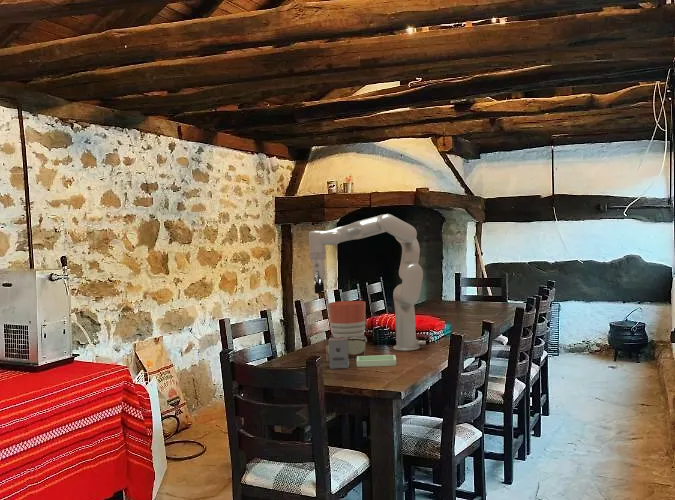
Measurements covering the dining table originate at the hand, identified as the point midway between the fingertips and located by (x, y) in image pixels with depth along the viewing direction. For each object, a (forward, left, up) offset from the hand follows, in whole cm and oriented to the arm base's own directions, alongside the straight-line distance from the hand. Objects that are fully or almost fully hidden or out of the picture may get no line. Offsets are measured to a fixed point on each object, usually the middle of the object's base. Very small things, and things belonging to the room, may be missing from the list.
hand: (319, 292), depth 291 cm
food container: (-16, +10, -30) cm, 36 cm away
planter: (-11, -30, -30) cm, 44 cm away
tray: (-25, +24, -30) cm, 46 cm away
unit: (-9, +27, -30) cm, 41 cm away
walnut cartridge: (-5, +15, -30) cm, 34 cm away
